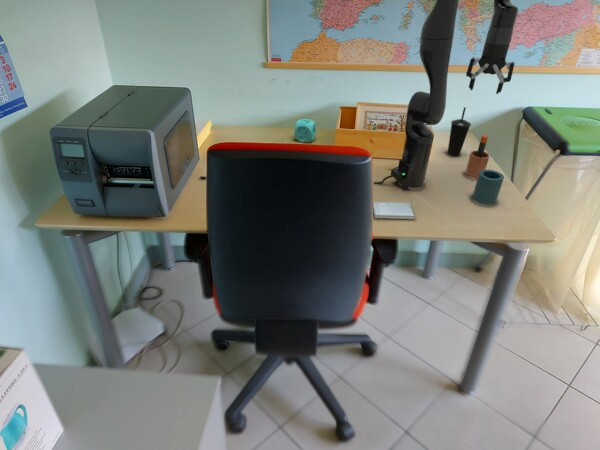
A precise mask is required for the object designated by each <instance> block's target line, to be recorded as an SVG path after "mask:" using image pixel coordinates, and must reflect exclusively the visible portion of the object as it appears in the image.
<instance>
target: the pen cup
mask: <svg viewBox="0 0 600 450" xmlns="http://www.w3.org/2000/svg"><path fill="white" fill-rule="evenodd" d="M477 151H478V150H472V151H470V154H469V157H468V160H467V164H466V168H465V171H464V173H465V175H466V176H467V177H470V178H474V179H478V176H479V172H480V171H482V170H487V166H488V163H489V159H490V154H489V153H487V152H486V151H484V153H483V157H482V158H481V157H477V156H476V155H477Z"/></svg>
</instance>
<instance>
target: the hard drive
mask: <svg viewBox="0 0 600 450" xmlns="http://www.w3.org/2000/svg"><path fill="white" fill-rule="evenodd" d="M373 202H374V208H372V211H373V217H374V219H391V220H392V219H394V220H395V219H396V220H415V214H414V212H413V211H414V210H413V209H412V206H411V203H410V202H390V201H388V202H386V201H373Z"/></svg>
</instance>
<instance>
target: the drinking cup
mask: <svg viewBox="0 0 600 450" xmlns="http://www.w3.org/2000/svg"><path fill="white" fill-rule="evenodd" d="M466 109H467V107H463V111H462V114H461V118H459V119H453V120H451V122H450V124H451V125H450V133H449V140H448V146H447V147H448V148H447V155H448V156H451V157H459V156H460V154H461V152H462V149H463V147H464V143H465V141H466V138H467V135H468V133H469V130H470V127H471V126H472V123H471V122H470V121H468V120H465V119H464V117H465V112H466Z"/></svg>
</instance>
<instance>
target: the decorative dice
mask: <svg viewBox="0 0 600 450" xmlns="http://www.w3.org/2000/svg"><path fill="white" fill-rule="evenodd" d="M316 134H317V124H316V122H315V121H314V120H312V119H308V118H307V119H306V118H305V119H304V118H303V119H302V118H301V119H299V120H297V121H296V123H295V126H294V138H295V139H296V141H297V142H300V143H304V142H307V143H312V142H313V141H314V140H315V138H316ZM302 140H303V141H302ZM307 143H306V144H307Z"/></svg>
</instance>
